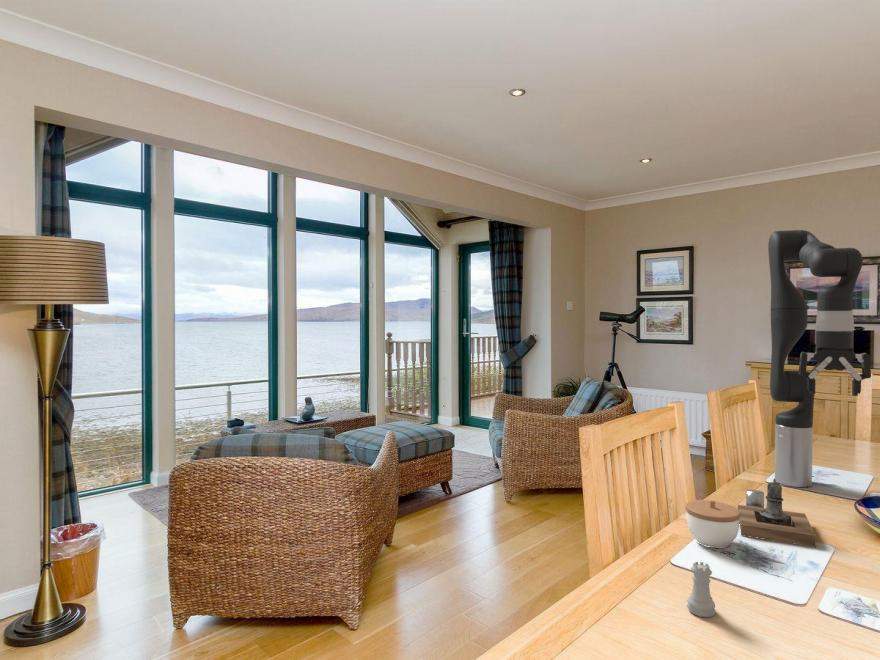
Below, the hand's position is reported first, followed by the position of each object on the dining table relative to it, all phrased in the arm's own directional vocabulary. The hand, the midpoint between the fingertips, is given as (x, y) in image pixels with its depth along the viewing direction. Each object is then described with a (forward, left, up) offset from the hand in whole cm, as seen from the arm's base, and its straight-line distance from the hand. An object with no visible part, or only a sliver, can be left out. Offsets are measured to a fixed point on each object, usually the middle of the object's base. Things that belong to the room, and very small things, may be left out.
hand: (833, 394), depth 133 cm
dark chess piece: (+17, -14, -30) cm, 37 cm away
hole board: (+17, -14, -30) cm, 37 cm away
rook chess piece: (+62, -29, -30) cm, 75 cm away
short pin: (+6, -17, -30) cm, 35 cm away
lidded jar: (+31, -27, -30) cm, 51 cm away
